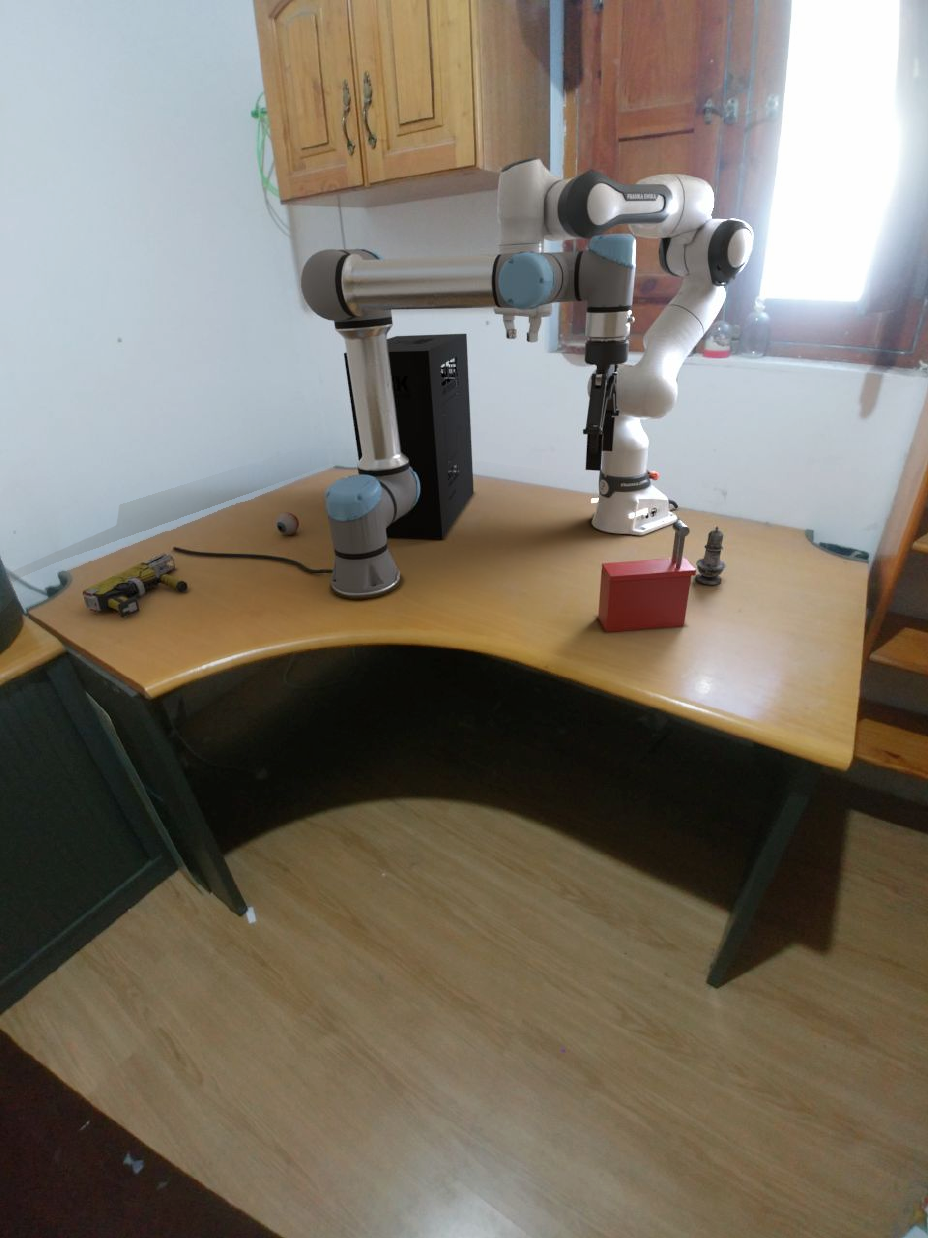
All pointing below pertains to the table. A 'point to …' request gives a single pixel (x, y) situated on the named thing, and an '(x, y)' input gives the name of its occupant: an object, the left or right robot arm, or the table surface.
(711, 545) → the grey chess bishop
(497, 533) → the table surface
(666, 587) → the chest
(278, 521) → the eyeball
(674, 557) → the lid
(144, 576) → the toy gun
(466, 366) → the black tall block
